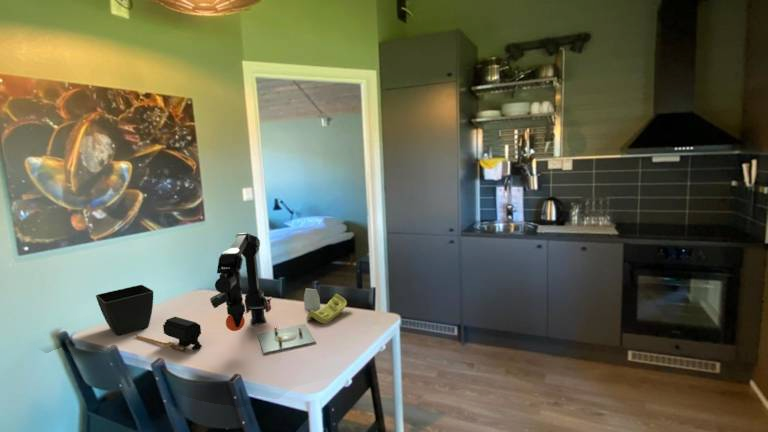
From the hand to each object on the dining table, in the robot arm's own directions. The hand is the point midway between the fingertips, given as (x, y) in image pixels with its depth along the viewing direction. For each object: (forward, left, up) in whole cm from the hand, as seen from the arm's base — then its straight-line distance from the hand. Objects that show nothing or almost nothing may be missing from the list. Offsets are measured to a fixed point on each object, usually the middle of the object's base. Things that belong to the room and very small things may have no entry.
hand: (236, 323), depth 159 cm
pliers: (-47, +16, -11) cm, 51 cm away
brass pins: (0, +19, -9) cm, 22 cm away
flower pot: (-49, -45, -11) cm, 67 cm away
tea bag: (-30, +36, -11) cm, 48 cm away
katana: (-21, -30, -11) cm, 38 cm away
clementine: (0, 0, -3) cm, 3 cm away
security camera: (-15, -20, -11) cm, 27 cm away
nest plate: (0, +18, -10) cm, 21 cm away
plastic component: (-16, +41, -11) cm, 45 cm away
